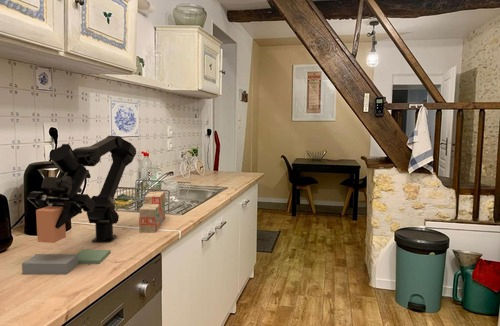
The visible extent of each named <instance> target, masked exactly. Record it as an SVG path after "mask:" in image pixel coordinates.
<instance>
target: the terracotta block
mask: <svg viewBox="0 0 500 326" xmlns="http://www.w3.org/2000/svg"><path fill="white" fill-rule="evenodd" d="M63 208H64V206H56V205H55V206H53V205H52V206H47V207H44V208H41V209H39V208H37V209H35V215H36V216H35V217H36V237H37V242H38V243H50V244H55V243H57V242H60V241H62V240H64V239H66V238H67V235H66V234H67V232H66V231H67V229H66V223H65V224H64V225H62V226H61V227H60V228H58V229H57V228H56V227H55V226H56V223H57V221H58V219H59V217H60V215H61V213H62V211H63Z"/></svg>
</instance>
